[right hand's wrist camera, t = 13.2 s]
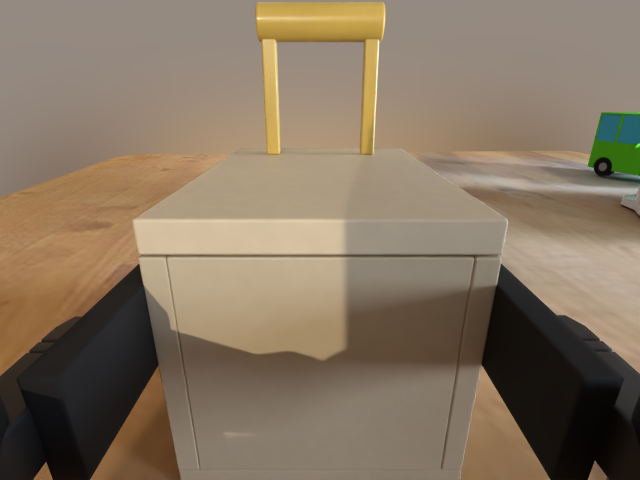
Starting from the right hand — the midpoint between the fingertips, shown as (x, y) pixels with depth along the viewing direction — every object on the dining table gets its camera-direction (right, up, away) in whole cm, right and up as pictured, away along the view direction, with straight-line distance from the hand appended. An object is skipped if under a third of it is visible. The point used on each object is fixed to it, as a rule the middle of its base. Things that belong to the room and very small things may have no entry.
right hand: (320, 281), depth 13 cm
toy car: (+52, +11, +47) cm, 71 cm away
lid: (0, +4, +3) cm, 5 cm away
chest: (0, -5, +6) cm, 8 cm away
